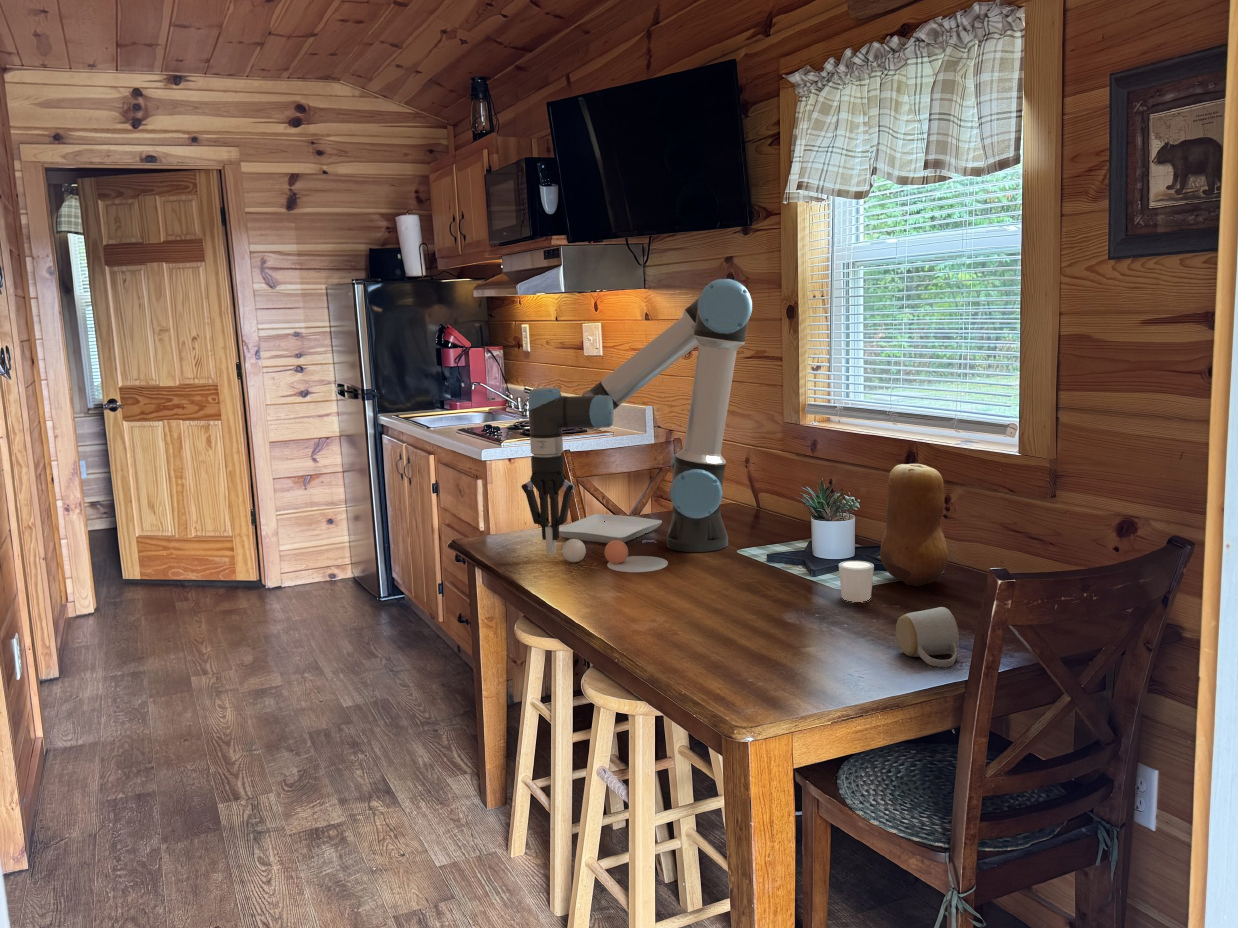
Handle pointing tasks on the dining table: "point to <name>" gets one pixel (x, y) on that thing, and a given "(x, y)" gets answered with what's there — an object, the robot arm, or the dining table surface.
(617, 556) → the coral ball
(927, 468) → the butternut squash
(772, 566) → the dining table surface
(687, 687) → the dining table surface
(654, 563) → the oval plate
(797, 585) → the dining table surface
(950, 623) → the ceramic mug
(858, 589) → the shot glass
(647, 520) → the salad plate
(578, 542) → the ivory ball
